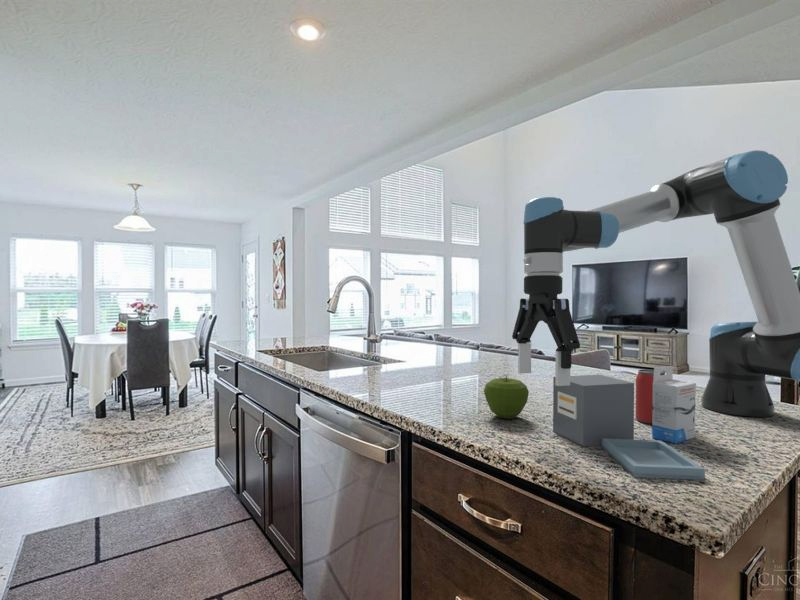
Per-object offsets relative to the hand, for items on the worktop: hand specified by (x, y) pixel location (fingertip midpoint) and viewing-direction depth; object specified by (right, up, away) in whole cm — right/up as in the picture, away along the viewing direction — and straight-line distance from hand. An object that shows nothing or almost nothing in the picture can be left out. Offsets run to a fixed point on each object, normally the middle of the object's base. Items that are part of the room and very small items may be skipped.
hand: (542, 378), depth 89 cm
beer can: (+31, -13, +14) cm, 36 cm away
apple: (-3, -13, +18) cm, 22 cm away
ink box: (+29, -13, +3) cm, 31 cm away
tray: (+15, -13, -11) cm, 23 cm away
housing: (+12, -13, +3) cm, 17 cm away
